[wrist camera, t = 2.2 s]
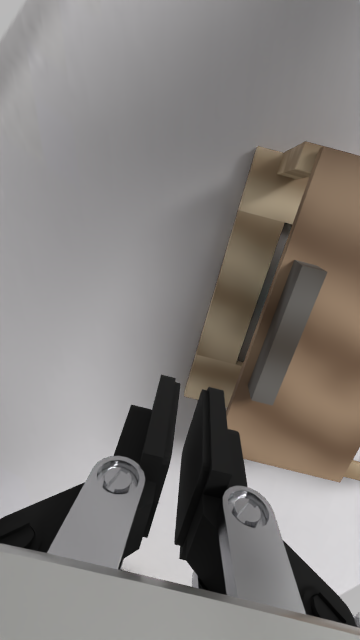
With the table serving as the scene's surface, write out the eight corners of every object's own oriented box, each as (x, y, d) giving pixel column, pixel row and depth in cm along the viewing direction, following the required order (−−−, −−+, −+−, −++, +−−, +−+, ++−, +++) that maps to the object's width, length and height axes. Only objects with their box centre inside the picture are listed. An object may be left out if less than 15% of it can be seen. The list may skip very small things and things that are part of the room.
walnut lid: (319, 148, 21) (336, 141, 18) (488, 193, 21) (528, 193, 19) (214, 444, 29) (215, 469, 27) (336, 475, 29) (349, 502, 27)
